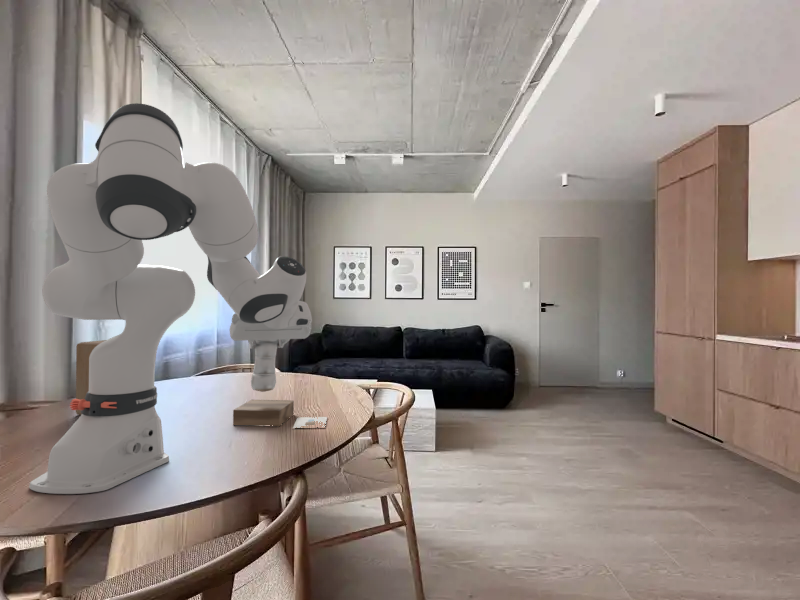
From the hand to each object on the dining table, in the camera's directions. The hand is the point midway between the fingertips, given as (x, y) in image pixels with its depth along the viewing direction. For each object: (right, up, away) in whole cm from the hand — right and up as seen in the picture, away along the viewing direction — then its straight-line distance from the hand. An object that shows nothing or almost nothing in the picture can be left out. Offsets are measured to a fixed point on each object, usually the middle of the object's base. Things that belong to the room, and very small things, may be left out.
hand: (266, 346), depth 120 cm
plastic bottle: (-1, -12, -1) cm, 12 cm away
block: (-47, -19, +5) cm, 51 cm away
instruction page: (+13, -20, -4) cm, 24 cm away
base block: (0, -20, -1) cm, 20 cm away
